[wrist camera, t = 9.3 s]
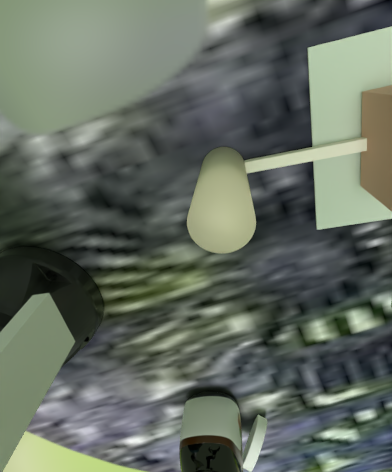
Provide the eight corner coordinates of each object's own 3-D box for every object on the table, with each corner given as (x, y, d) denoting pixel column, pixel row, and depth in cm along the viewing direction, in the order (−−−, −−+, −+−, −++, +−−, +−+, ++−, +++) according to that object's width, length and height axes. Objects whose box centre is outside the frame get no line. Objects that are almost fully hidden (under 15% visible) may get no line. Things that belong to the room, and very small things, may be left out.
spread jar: (180, 385, 44) (165, 479, 34) (258, 378, 42) (268, 476, 32) (200, 434, 49) (193, 529, 39) (271, 430, 47) (283, 529, 37)
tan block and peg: (210, 211, 30) (201, 283, 20) (192, 129, 27) (170, 163, 16) (458, 169, 26) (613, 231, 16) (475, 66, 23) (688, 57, 12)
